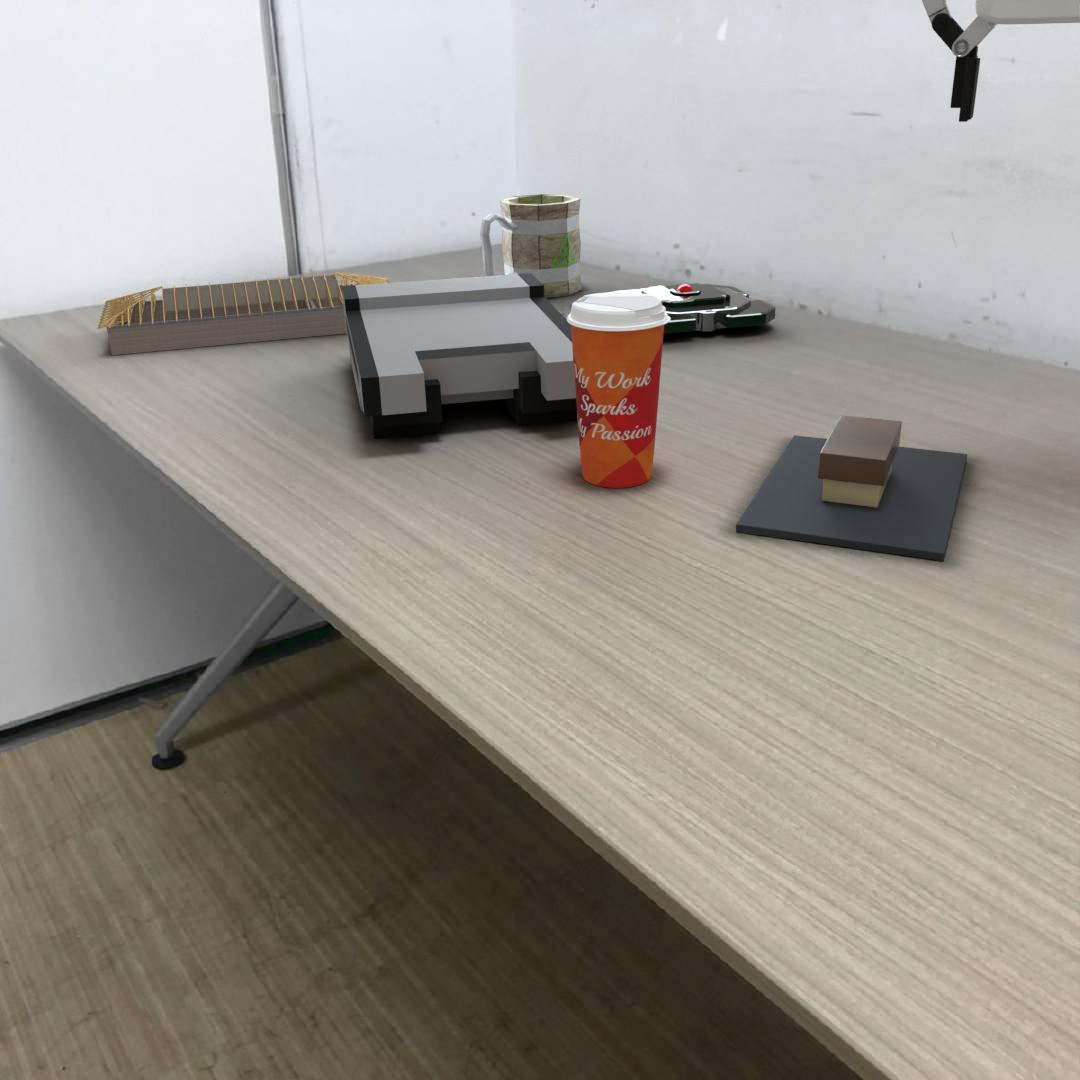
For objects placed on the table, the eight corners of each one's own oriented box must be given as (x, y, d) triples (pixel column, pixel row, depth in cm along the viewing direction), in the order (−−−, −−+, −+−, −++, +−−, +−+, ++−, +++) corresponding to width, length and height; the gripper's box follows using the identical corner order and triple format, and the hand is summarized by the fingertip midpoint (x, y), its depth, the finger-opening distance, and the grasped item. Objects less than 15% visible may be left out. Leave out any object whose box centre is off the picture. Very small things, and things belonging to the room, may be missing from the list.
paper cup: (555, 486, 87) (551, 309, 82) (587, 454, 94) (586, 287, 88) (651, 498, 85) (654, 315, 79) (677, 464, 91) (682, 293, 85)
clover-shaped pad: (785, 333, 128) (788, 293, 127) (637, 347, 125) (637, 306, 123) (724, 301, 144) (726, 265, 142) (591, 312, 141) (591, 275, 139)
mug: (544, 278, 160) (542, 192, 155) (598, 288, 153) (597, 198, 148) (459, 296, 151) (454, 205, 146) (512, 308, 144) (508, 212, 139)
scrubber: (836, 462, 89) (841, 414, 87) (896, 469, 87) (902, 421, 85) (815, 504, 81) (819, 452, 80) (880, 512, 80) (886, 460, 78)
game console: (368, 458, 94) (359, 363, 91) (348, 360, 123) (341, 286, 119) (605, 435, 98) (605, 343, 94) (533, 345, 126) (531, 273, 123)
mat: (793, 441, 95) (793, 435, 95) (966, 460, 90) (967, 453, 90) (735, 531, 79) (735, 524, 78) (943, 561, 74) (944, 553, 73)
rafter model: (388, 304, 148) (384, 257, 145) (407, 329, 135) (403, 278, 132) (110, 329, 139) (101, 279, 137) (103, 357, 127) (92, 304, 124)
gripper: (931, -178, 67) (900, 124, 74) (1262, -208, 61) (1194, 125, 68) (942, -161, 73) (913, 116, 81) (1244, -187, 67) (1183, 116, 74)
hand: (1042, 120), depth 74 cm, fingers open, 9 cm apart
